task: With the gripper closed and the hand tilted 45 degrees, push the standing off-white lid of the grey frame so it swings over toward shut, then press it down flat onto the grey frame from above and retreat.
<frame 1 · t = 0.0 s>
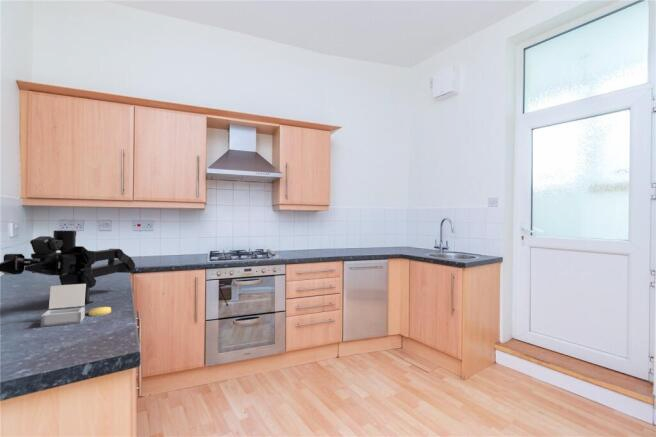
hand: (9, 268, 92), 16 cm above the worktop, tool horizontal, fingers open, 9 cm apart
yellow rounded disc: (99, 314, 107), on the worktop
lid: (67, 296, 102), point 7 cm above the worktop, hinge at -104.0°
grey frame: (66, 318, 100), on the worktop
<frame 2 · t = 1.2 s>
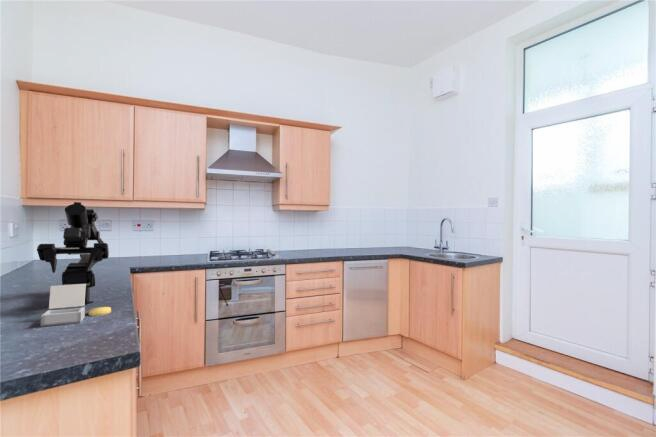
hand: (70, 271, 105), 14 cm above the worktop, tool tilted 45°, fingers open, 8 cm apart
nothing on the worktop moved.
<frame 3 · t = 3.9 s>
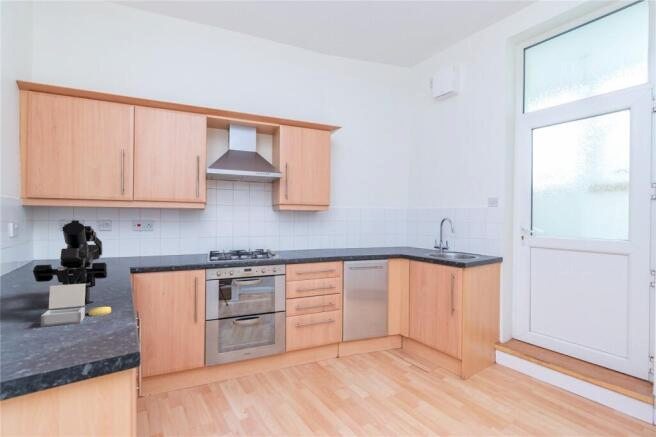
hand: (68, 293, 102), 7 cm above the worktop, tool tilted 45°, fingers closed, pressing on lid
lid: (67, 295, 101), point 7 cm above the worktop, hinge at -97.6°, touching gripper
everything else where it was.
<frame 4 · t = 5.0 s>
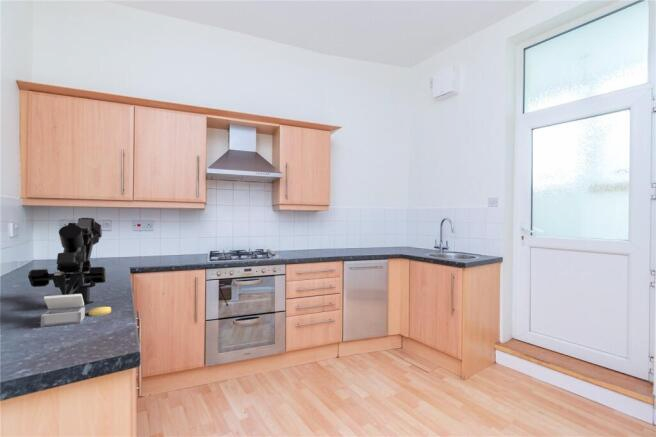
hand: (64, 299, 98), 6 cm above the worktop, tool tilted 45°, fingers closed, pressing on lid
lid: (65, 301, 98), point 6 cm above the worktop, hinge at -39.0°, touching gripper
everything else where it was.
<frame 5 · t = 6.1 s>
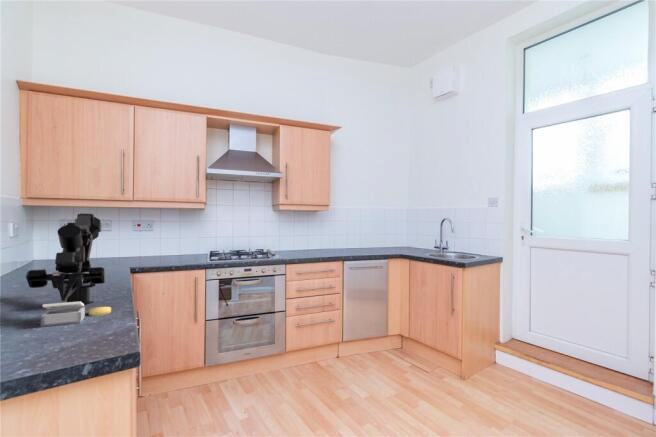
hand: (63, 300, 96), 7 cm above the worktop, tool tilted 45°, fingers closed
lid: (64, 305, 98), point 5 cm above the worktop, hinge at -19.4°
everything else where it was.
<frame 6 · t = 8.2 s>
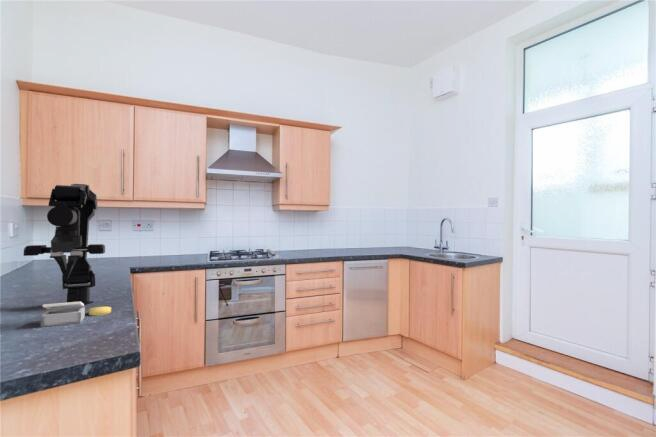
hand: (66, 278, 99), 13 cm above the worktop, tool pointing down, fingers closed
nothing on the worktop moved.
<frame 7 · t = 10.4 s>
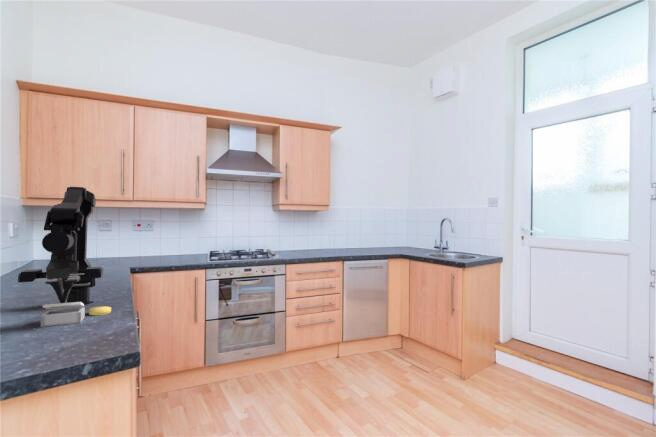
hand: (62, 303, 96), 6 cm above the worktop, tool pointing down, fingers closed, pressing on lid
lid: (64, 305, 98), point 5 cm above the worktop, hinge at -18.4°, touching gripper
everything else where it was.
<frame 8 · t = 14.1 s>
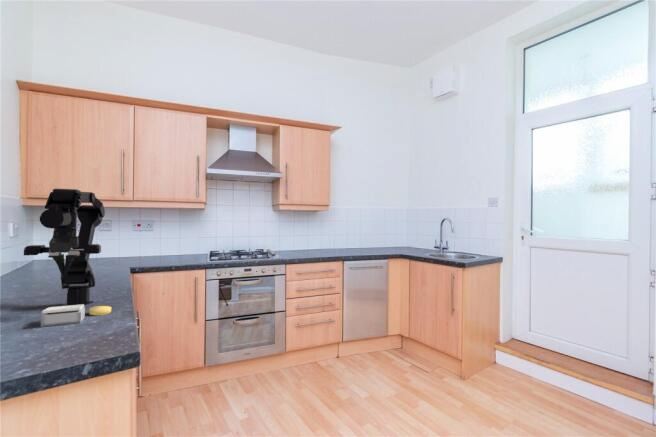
hand: (64, 276, 105), 12 cm above the worktop, tool pointing down, fingers closed
lid: (64, 308, 97), point 4 cm above the worktop, hinge at -4.6°
everything else where it was.
at the end: lid at -5° (first picture: -104°) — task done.
